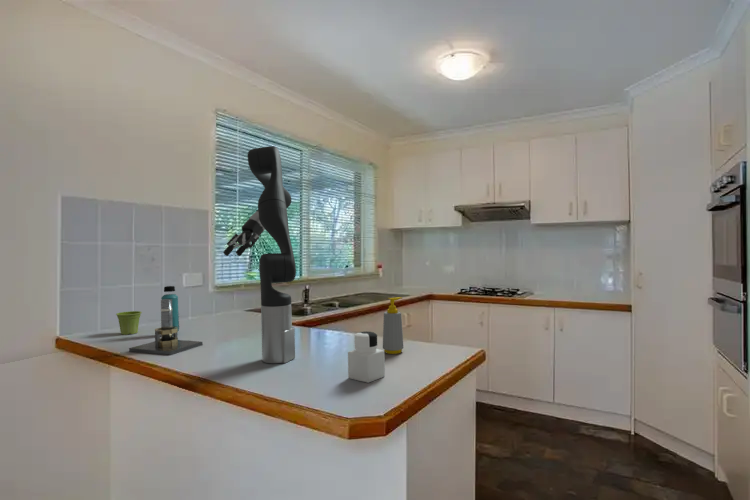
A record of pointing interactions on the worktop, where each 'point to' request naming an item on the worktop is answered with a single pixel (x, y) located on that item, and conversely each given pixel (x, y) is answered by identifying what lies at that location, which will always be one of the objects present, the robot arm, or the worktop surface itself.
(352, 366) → the medicine bottle
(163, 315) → the glossy dome-topped cylinder
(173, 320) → the beverage bottle
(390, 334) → the soap bottle
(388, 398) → the worktop surface
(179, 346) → the dark square plate
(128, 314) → the plant pot
